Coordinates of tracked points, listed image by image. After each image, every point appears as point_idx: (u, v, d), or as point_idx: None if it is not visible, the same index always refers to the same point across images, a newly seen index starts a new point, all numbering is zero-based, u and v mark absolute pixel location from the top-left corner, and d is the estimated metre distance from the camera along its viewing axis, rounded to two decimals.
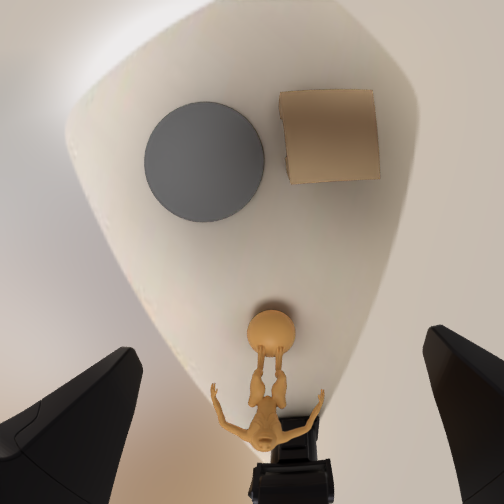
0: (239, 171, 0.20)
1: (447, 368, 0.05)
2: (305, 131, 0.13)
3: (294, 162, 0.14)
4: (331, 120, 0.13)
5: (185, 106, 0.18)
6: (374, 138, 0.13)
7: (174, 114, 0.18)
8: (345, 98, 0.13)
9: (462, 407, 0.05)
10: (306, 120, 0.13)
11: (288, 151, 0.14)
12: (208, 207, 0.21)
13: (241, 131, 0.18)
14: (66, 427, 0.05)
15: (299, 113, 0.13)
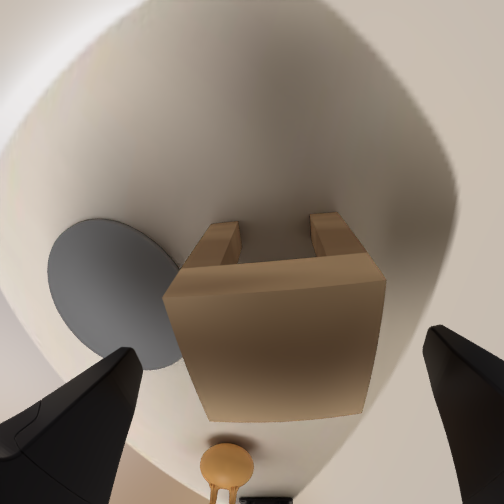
0: (162, 324, 0.13)
1: (447, 368, 0.05)
2: (223, 367, 0.07)
3: (210, 402, 0.08)
4: (277, 351, 0.07)
5: (76, 226, 0.11)
6: (365, 369, 0.07)
7: (66, 237, 0.12)
8: (315, 308, 0.06)
9: (462, 407, 0.05)
10: (224, 351, 0.07)
11: (197, 388, 0.07)
12: None
13: (155, 270, 0.12)
14: (66, 427, 0.05)
15: (208, 339, 0.07)
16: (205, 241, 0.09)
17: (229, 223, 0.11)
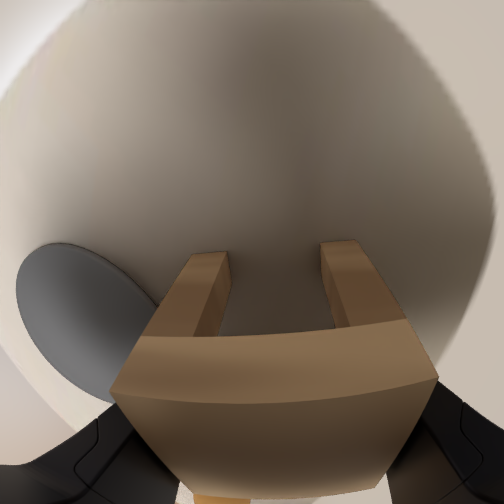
0: None
1: None
2: (203, 462, 0.04)
3: (192, 482, 0.05)
4: (274, 455, 0.04)
5: (38, 251, 0.09)
6: (387, 459, 0.04)
7: (30, 263, 0.09)
8: (331, 418, 0.03)
9: None
10: (201, 451, 0.04)
11: (174, 471, 0.05)
12: None
13: (127, 308, 0.09)
14: (133, 447, 0.04)
15: (178, 439, 0.04)
16: (180, 286, 0.07)
17: (215, 254, 0.08)
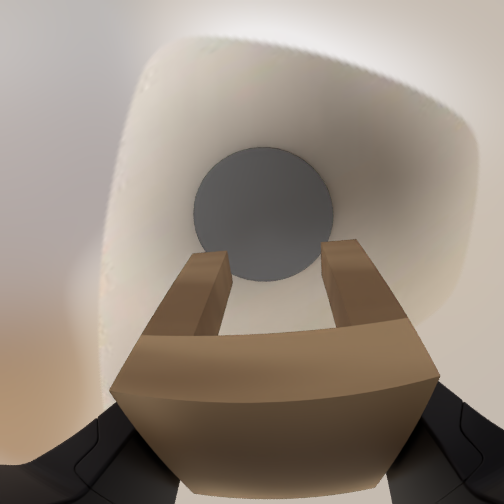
0: (287, 253, 0.19)
1: None
2: (203, 462, 0.04)
3: (192, 482, 0.05)
4: (275, 454, 0.04)
5: (297, 158, 0.16)
6: (388, 459, 0.04)
7: (280, 154, 0.16)
8: (332, 417, 0.03)
9: None
10: (202, 450, 0.04)
11: (174, 471, 0.05)
12: (234, 258, 0.19)
13: (320, 224, 0.18)
14: (133, 447, 0.04)
15: (179, 439, 0.04)
16: (181, 285, 0.07)
17: (215, 254, 0.08)
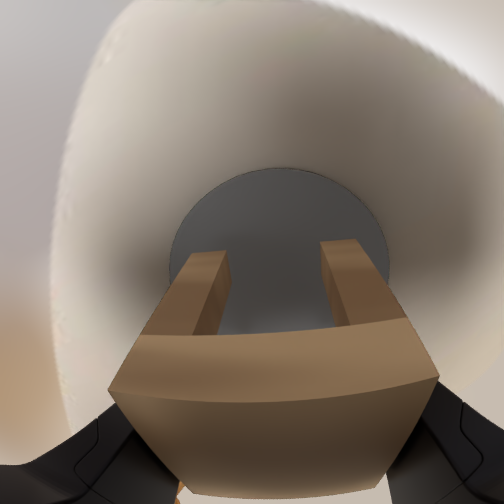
0: None
1: None
2: (202, 462, 0.04)
3: (191, 482, 0.05)
4: (274, 454, 0.04)
5: (349, 193, 0.09)
6: (387, 459, 0.04)
7: (321, 186, 0.09)
8: (331, 417, 0.03)
9: None
10: (201, 450, 0.04)
11: (174, 471, 0.05)
12: None
13: None
14: (133, 447, 0.04)
15: (178, 438, 0.04)
16: (180, 285, 0.07)
17: (214, 253, 0.08)
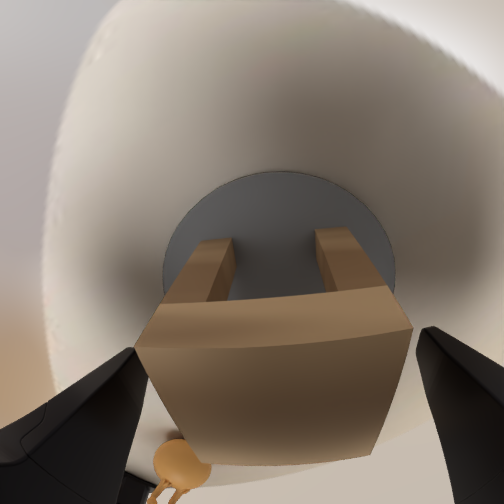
0: None
1: (439, 370, 0.05)
2: (213, 419, 0.05)
3: (200, 447, 0.06)
4: (276, 406, 0.05)
5: (354, 199, 0.09)
6: (378, 418, 0.05)
7: (324, 190, 0.09)
8: (323, 363, 0.05)
9: (454, 410, 0.05)
10: (212, 405, 0.05)
11: (185, 435, 0.06)
12: None
13: None
14: (73, 429, 0.05)
15: (192, 393, 0.05)
16: (192, 265, 0.08)
17: (221, 240, 0.10)
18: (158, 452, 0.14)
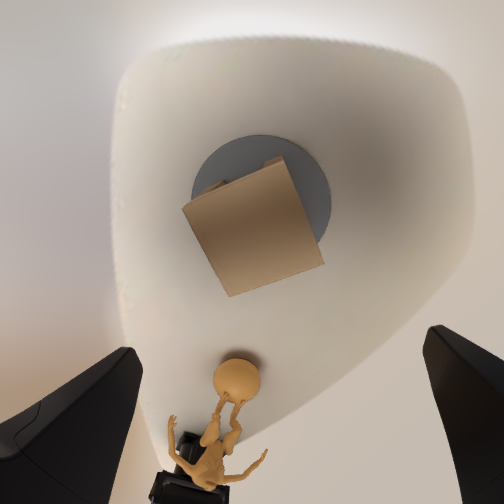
0: None
1: (447, 368, 0.05)
2: (222, 242, 0.13)
3: (224, 276, 0.14)
4: (246, 221, 0.13)
5: (280, 139, 0.16)
6: (303, 222, 0.12)
7: (262, 140, 0.16)
8: (254, 188, 0.12)
9: (462, 407, 0.05)
10: (219, 230, 0.13)
11: (213, 267, 0.14)
12: None
13: (318, 200, 0.17)
14: (66, 427, 0.05)
15: (209, 225, 0.13)
16: (204, 191, 0.16)
17: (218, 182, 0.17)
18: (216, 371, 0.22)
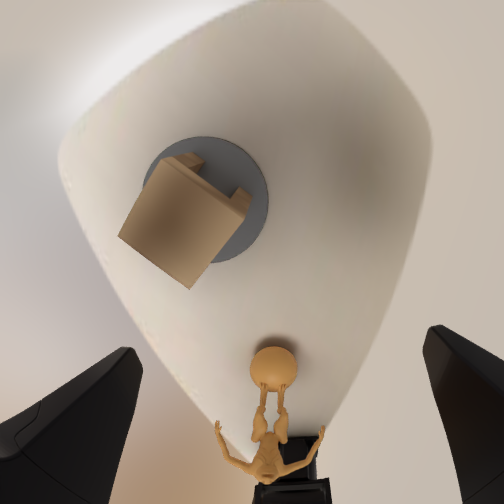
0: None
1: (447, 368, 0.05)
2: (157, 246, 0.14)
3: (175, 273, 0.15)
4: (162, 219, 0.14)
5: (184, 140, 0.17)
6: (203, 194, 0.13)
7: (172, 149, 0.18)
8: (152, 191, 0.13)
9: (462, 407, 0.05)
10: (149, 237, 0.14)
11: (163, 269, 0.15)
12: None
13: (244, 170, 0.18)
14: (66, 427, 0.05)
15: (141, 238, 0.14)
16: None
17: None
18: (250, 367, 0.22)
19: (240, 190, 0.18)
